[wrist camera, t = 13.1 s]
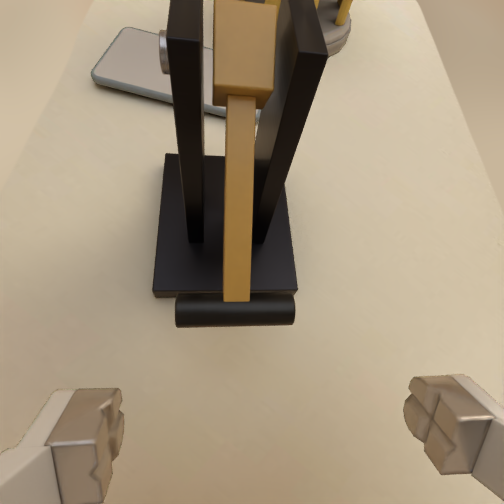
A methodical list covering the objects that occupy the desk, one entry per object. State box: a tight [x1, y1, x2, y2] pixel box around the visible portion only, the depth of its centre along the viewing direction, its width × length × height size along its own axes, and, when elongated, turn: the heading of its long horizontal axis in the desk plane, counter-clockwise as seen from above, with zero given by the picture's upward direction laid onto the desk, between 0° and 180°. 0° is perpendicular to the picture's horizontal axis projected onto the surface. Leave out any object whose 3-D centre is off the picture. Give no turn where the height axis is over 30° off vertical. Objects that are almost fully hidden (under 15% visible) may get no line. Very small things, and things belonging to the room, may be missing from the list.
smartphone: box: [91, 27, 261, 123], centre depth 29 cm, size 8×1×15 cm
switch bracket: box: [152, 0, 329, 297], centre depth 16 cm, size 11×9×14 cm
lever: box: [175, 0, 295, 328], centre depth 13 cm, size 12×5×2 cm
